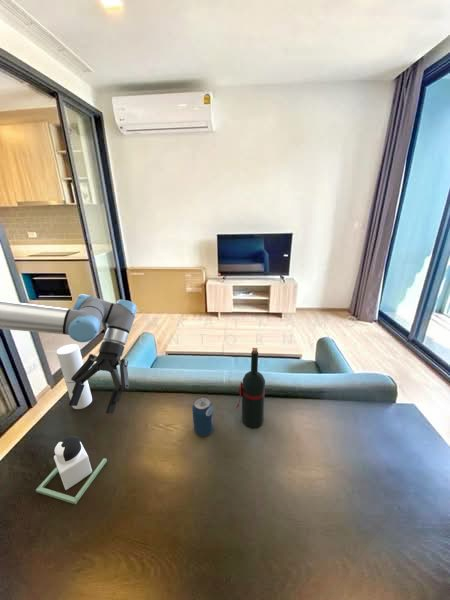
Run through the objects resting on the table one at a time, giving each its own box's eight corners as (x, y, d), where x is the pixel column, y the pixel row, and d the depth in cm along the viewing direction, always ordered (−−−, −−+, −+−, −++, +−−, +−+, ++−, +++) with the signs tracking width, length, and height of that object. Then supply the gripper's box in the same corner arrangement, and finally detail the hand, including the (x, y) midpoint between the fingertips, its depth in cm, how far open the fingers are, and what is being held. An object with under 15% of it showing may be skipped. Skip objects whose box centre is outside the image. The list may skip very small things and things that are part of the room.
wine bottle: (236, 410, 96) (236, 342, 85) (263, 412, 95) (266, 343, 84) (234, 427, 88) (234, 354, 78) (263, 429, 87) (267, 356, 77)
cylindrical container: (68, 408, 98) (51, 353, 89) (80, 395, 104) (66, 343, 96) (84, 410, 97) (69, 355, 88) (96, 397, 103) (83, 344, 94)
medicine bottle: (85, 457, 78) (76, 428, 74) (92, 473, 74) (84, 443, 69) (59, 473, 74) (48, 443, 70) (65, 491, 69) (54, 460, 65)
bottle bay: (36, 492, 69) (35, 489, 69) (72, 451, 80) (71, 449, 80) (75, 504, 66) (74, 502, 66) (107, 460, 77) (106, 458, 77)
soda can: (217, 431, 87) (216, 404, 83) (199, 441, 83) (198, 413, 79) (207, 418, 92) (206, 392, 88) (190, 427, 89) (188, 400, 84)
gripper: (151, 350, 87) (132, 416, 78) (90, 342, 92) (67, 403, 84) (140, 344, 80) (118, 416, 72) (76, 336, 86) (49, 401, 77)
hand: (90, 409), depth 78 cm, fingers open, 13 cm apart
